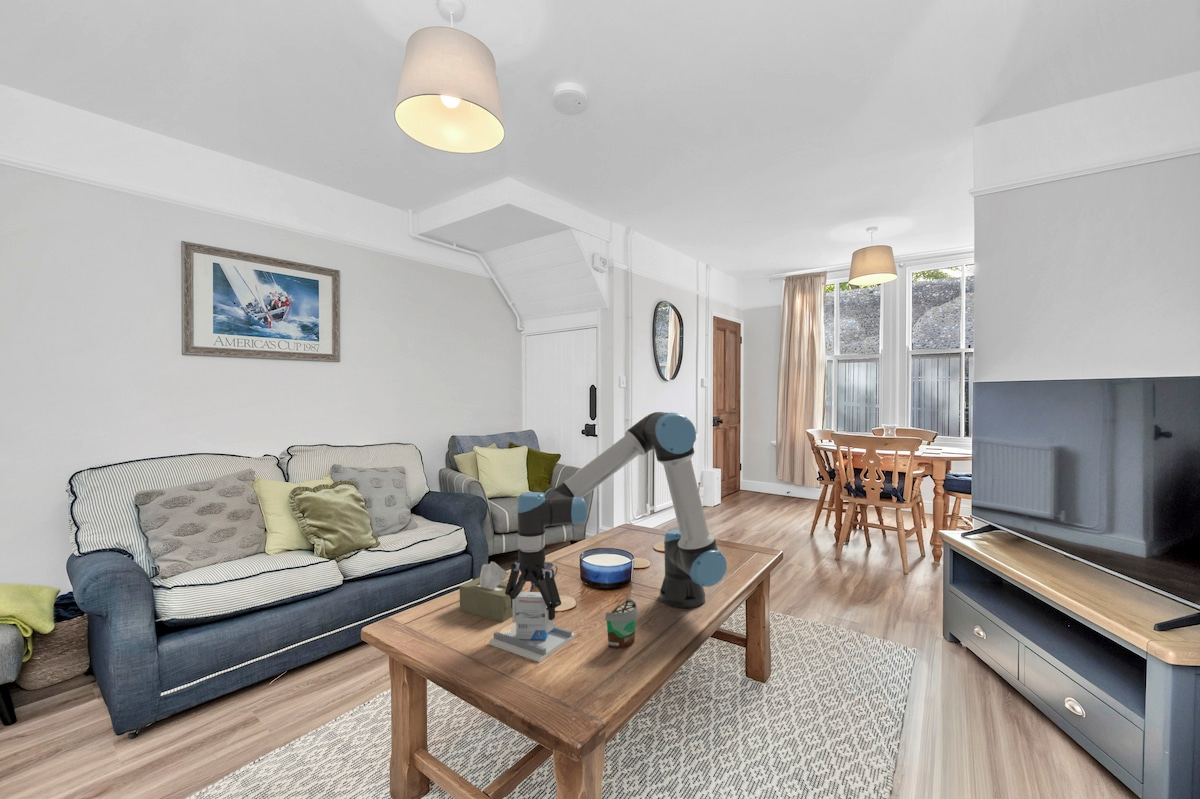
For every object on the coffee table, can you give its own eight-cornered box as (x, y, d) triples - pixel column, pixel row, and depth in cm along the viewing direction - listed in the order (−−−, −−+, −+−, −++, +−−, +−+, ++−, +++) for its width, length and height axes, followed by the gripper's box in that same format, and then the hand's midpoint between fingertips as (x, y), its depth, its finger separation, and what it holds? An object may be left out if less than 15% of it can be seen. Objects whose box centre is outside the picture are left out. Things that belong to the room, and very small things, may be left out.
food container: (625, 655, 135) (625, 617, 135) (605, 649, 139) (605, 612, 138) (646, 636, 146) (646, 601, 146) (627, 631, 149) (627, 597, 149)
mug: (538, 604, 169) (538, 572, 169) (521, 596, 175) (521, 566, 175) (566, 594, 177) (565, 563, 177) (549, 587, 184) (548, 557, 184)
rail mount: (575, 637, 146) (575, 628, 146) (539, 662, 132) (539, 652, 132) (527, 622, 155) (527, 614, 155) (489, 644, 142) (489, 635, 142)
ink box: (549, 633, 146) (549, 591, 146) (546, 640, 141) (545, 597, 142) (520, 632, 147) (519, 590, 147) (515, 639, 142) (515, 596, 142)
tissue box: (523, 611, 164) (523, 562, 164) (503, 623, 156) (502, 571, 156) (479, 599, 174) (479, 553, 173) (458, 610, 165) (458, 562, 165)
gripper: (573, 551, 140) (574, 630, 140) (509, 538, 153) (510, 611, 153) (556, 558, 134) (557, 641, 134) (491, 545, 147) (492, 620, 147)
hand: (532, 625), depth 144 cm, fingers open, 11 cm apart
